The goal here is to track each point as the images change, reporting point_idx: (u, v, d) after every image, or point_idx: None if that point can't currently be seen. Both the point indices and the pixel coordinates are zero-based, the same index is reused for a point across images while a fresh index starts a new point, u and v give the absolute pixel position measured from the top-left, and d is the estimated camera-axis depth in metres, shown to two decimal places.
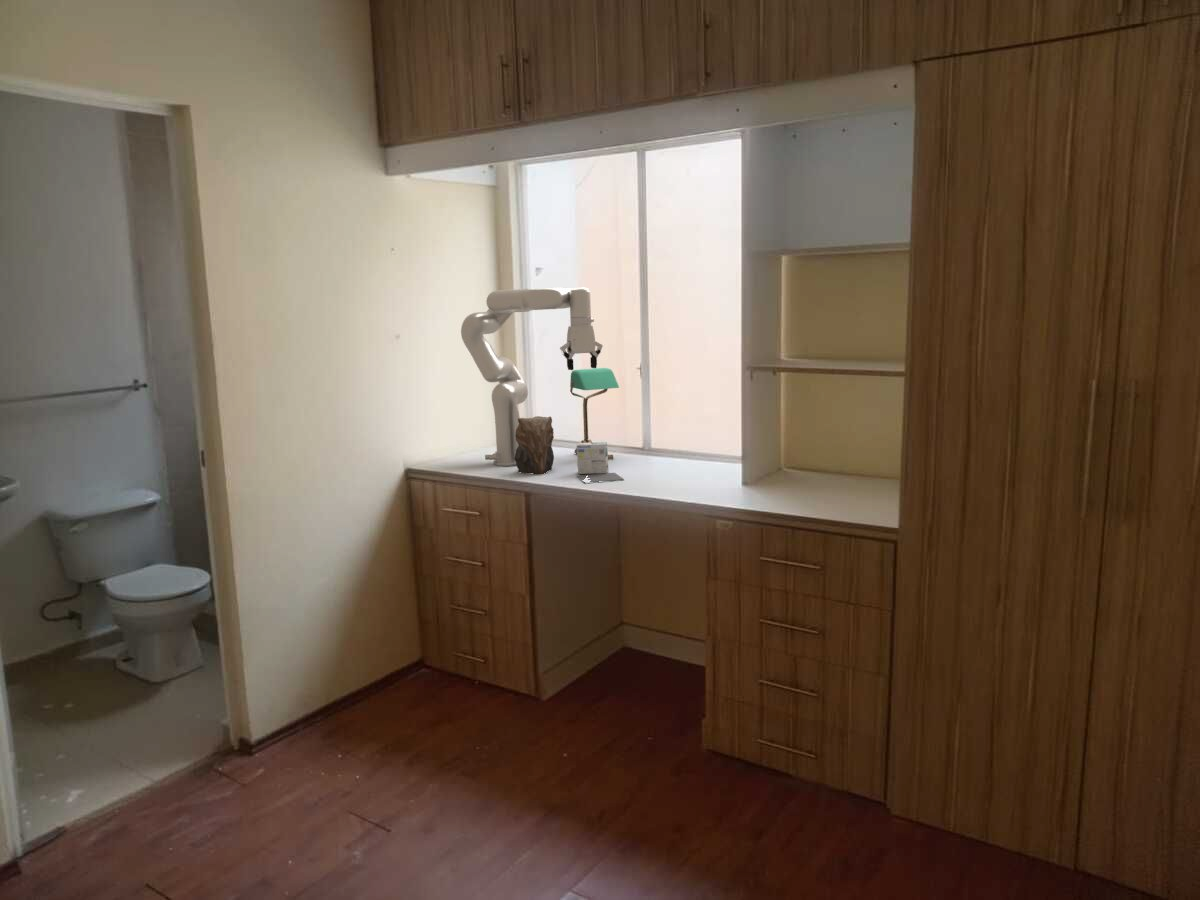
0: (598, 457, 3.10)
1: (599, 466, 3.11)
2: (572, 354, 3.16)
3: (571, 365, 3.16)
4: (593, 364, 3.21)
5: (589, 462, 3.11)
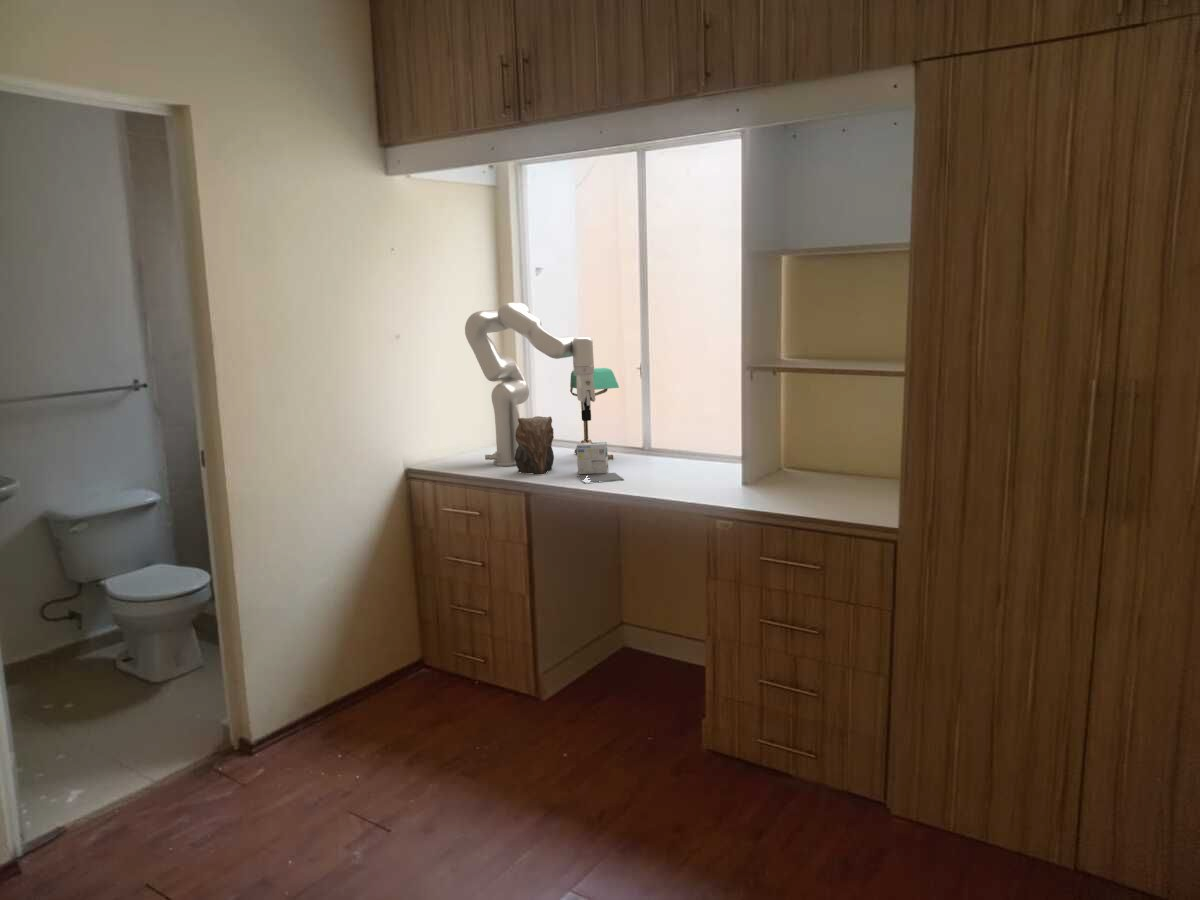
0: (598, 457, 3.10)
1: (599, 466, 3.11)
2: (581, 404, 3.21)
3: None
4: None
5: (589, 462, 3.11)
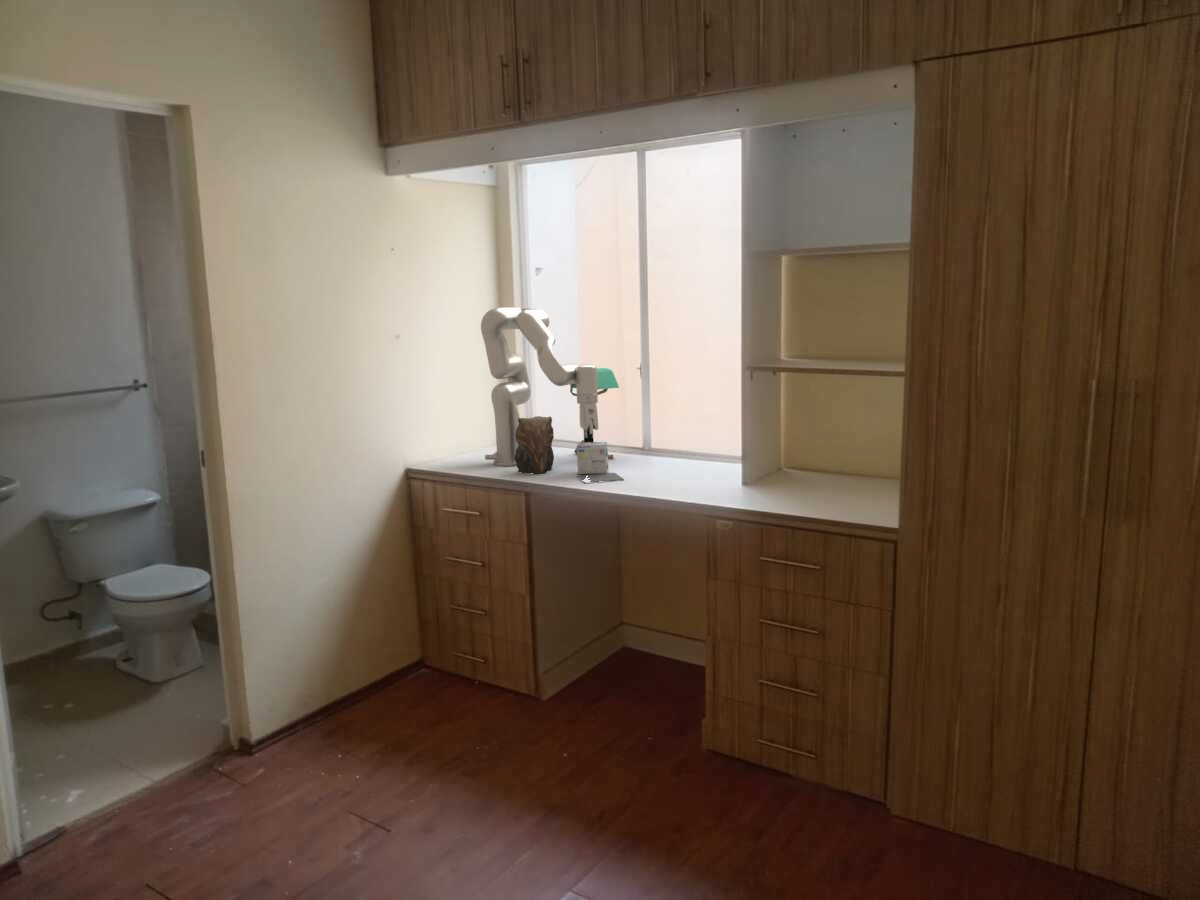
0: (598, 457, 3.10)
1: (599, 466, 3.11)
2: (584, 432, 3.19)
3: None
4: None
5: (589, 462, 3.11)
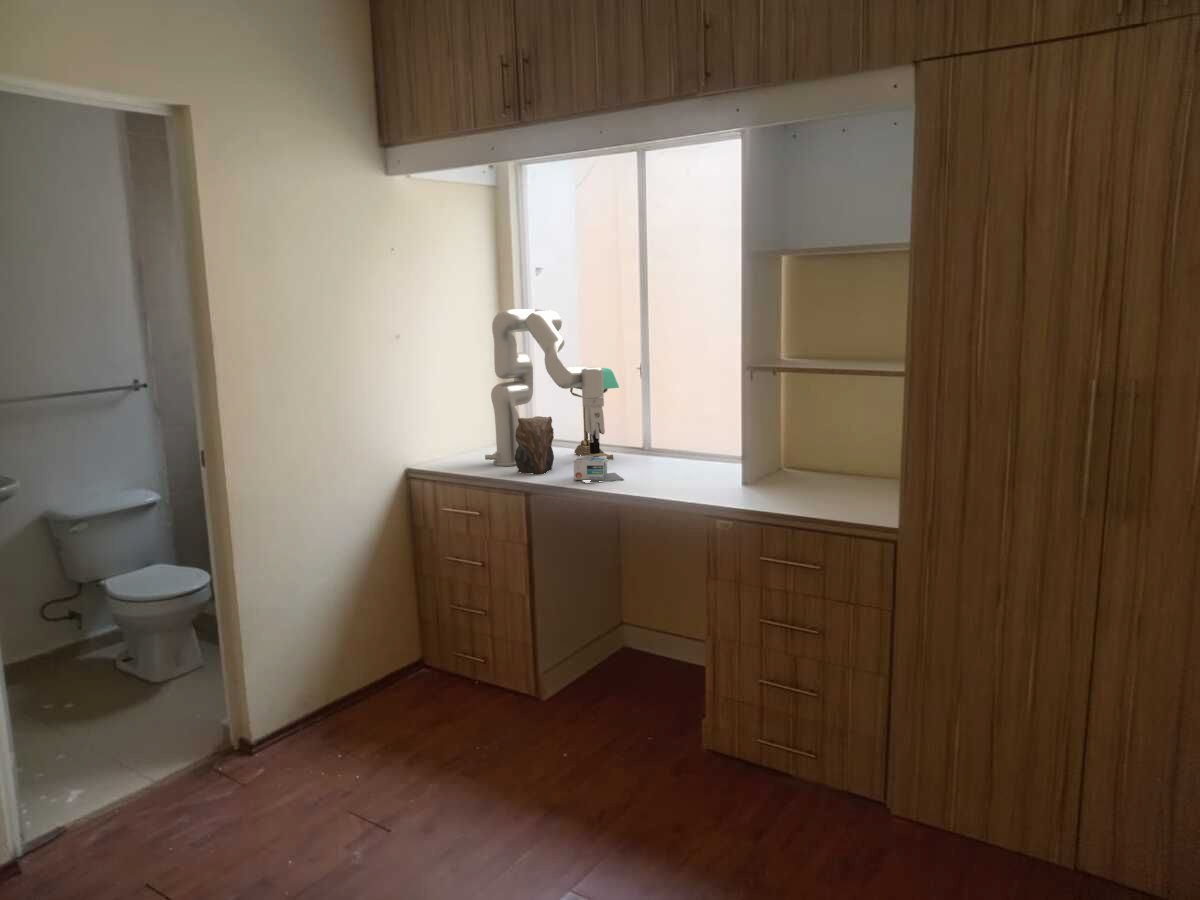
0: None
1: None
2: (589, 436, 3.10)
3: None
4: None
5: None
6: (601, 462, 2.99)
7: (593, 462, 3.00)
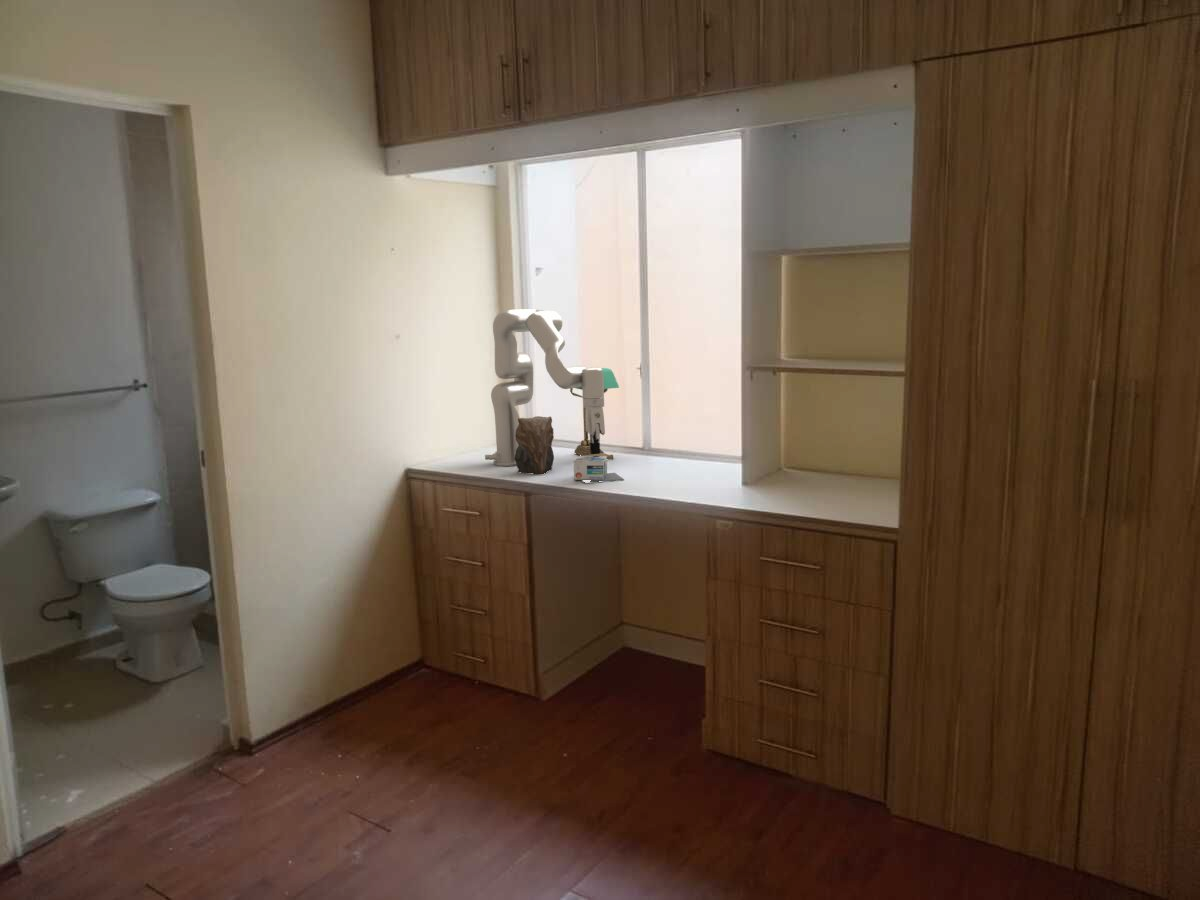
0: None
1: None
2: (590, 436, 3.09)
3: None
4: None
5: None
6: (601, 462, 2.99)
7: (593, 462, 3.00)
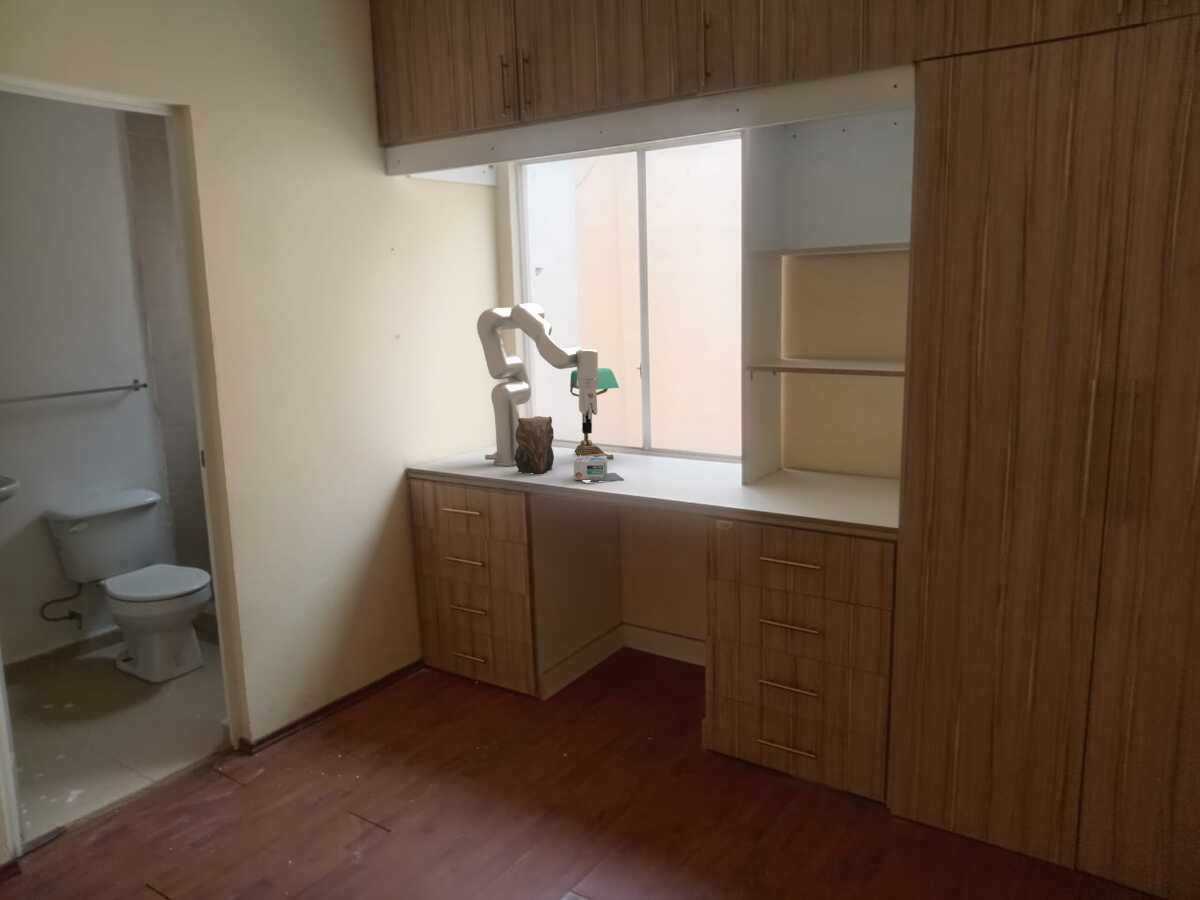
0: None
1: None
2: (582, 416, 3.16)
3: None
4: None
5: None
6: (601, 462, 2.99)
7: (593, 462, 3.00)
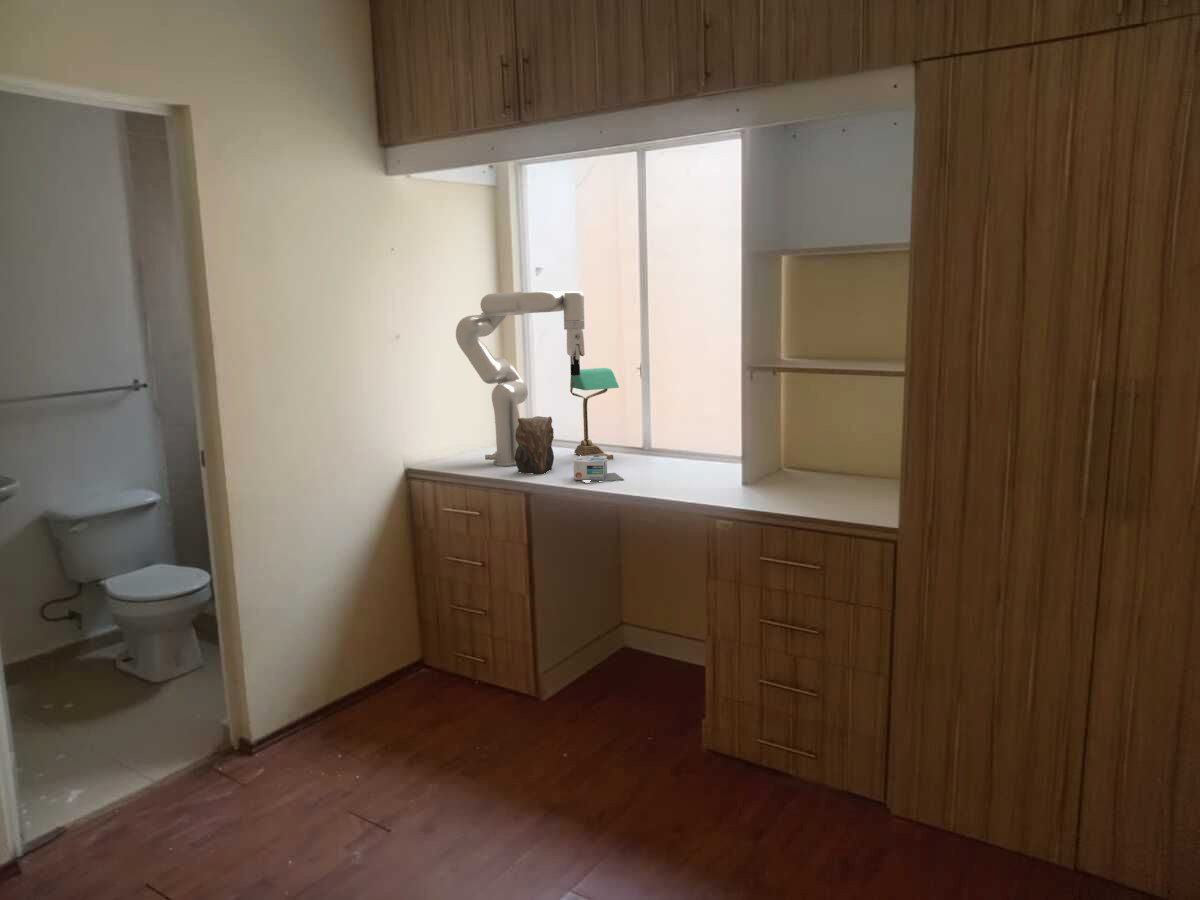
0: None
1: None
2: (570, 358, 3.22)
3: None
4: None
5: None
6: (601, 462, 2.99)
7: (593, 462, 3.00)
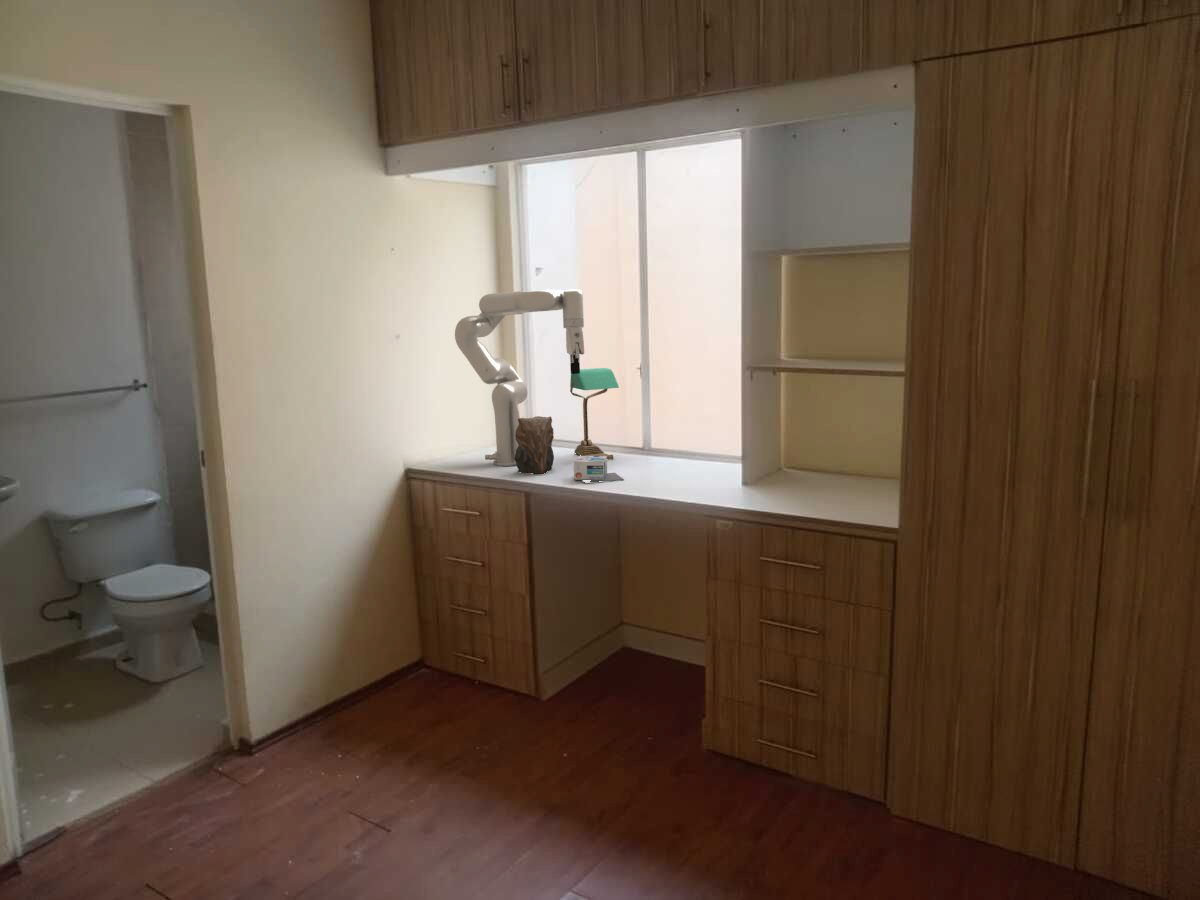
0: None
1: None
2: (570, 357, 3.22)
3: None
4: None
5: None
6: (601, 462, 2.99)
7: (593, 462, 3.00)
